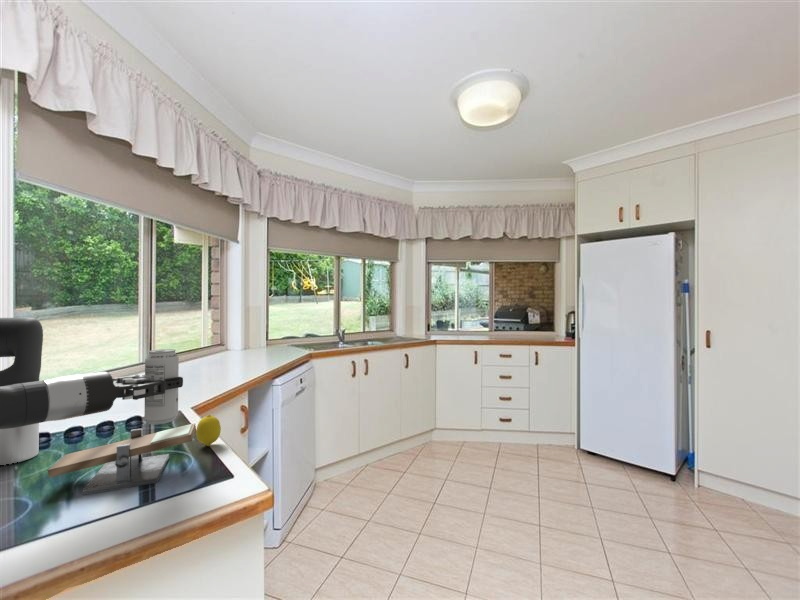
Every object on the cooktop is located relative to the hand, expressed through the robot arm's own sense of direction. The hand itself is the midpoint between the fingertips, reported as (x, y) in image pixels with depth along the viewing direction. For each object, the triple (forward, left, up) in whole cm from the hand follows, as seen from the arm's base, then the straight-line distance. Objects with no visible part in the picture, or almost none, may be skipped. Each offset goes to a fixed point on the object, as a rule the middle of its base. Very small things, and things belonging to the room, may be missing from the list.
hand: (173, 379), depth 80 cm
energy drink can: (+1, -2, -8) cm, 9 cm away
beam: (-1, -8, -15) cm, 17 cm away
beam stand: (-1, -8, -20) cm, 21 cm away
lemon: (-12, +6, -20) cm, 24 cm away
